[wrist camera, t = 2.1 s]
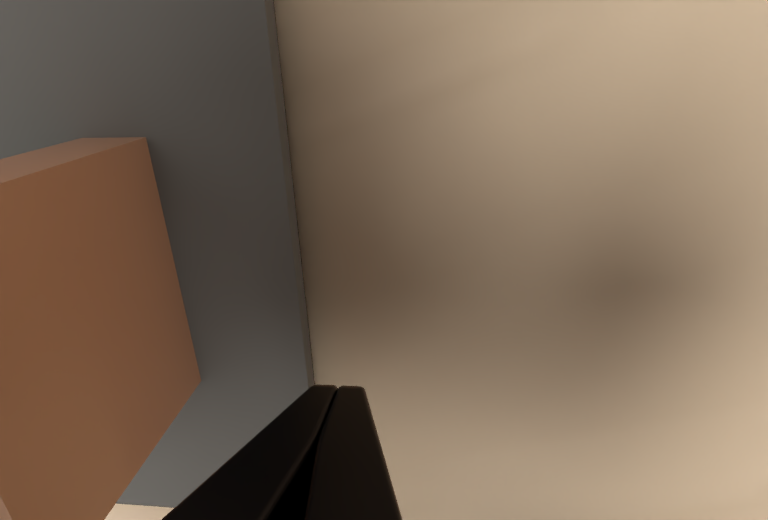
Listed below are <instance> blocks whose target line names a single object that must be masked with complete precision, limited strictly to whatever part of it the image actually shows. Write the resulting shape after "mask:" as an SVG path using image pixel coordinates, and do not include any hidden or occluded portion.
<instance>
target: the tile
mask: <svg viewBox="0 0 768 520" xmlns="http://www.w3.org/2000/svg"><path fill="white" fill-rule="evenodd" d="M200 382H201V378H200V373H199V369H198V365H197V360H196V356H195V351H194V347H193V343H192V338H191V334H190V329H189V325H188V320H187V316H186V312H185V307H184V303H183V298H182V294H181V290H180V285H179V281H178V276H177V272H176V268H175V263H174V259H173V254H172V250H171V246H170V241H169V237H168V232H167V228H166V224H165V219H164V215H163V210H162V206H161V202H160V197H159V193H158V188H157V184H156V180H155V175H154V171H153V166H152V162H151V158H150V153H149V149H148V144H147V140H146V137H118V138H79V139H76V140H72V141H68V142H64V143H60V144H56V145H53V146H49V147H45V148H41V149H37V150H34V151H30V152H26V153H22V154H18V155H15V156H11V157H7V158H3V159H0V520H104V519H105V518H106V516H107V515H108V513H109V512H110V511H111V509H112V508H113V506H114V505H115V503H116V502H117V501H118V499H119V498H120V496H121V495H122V493H123V492H124V491H125V489H126V488H127V486H128V485H129V483H130V482H131V481H132V479H133V478H134V476H135V475H136V473H137V472H138V471H139V469H140V468H141V466H142V465H143V463H144V462H145V461H146V459H147V458H148V456H149V455H150V453H151V452H152V450H153V449H154V448H155V446H156V445H157V443H158V442H159V440H160V439H161V438H162V436H163V435H164V433H165V432H166V430H167V429H168V428H169V426H170V425H171V423H172V422H173V420H174V419H175V418H176V416H177V415H178V413H179V412H180V410H181V409H182V408H183V406H184V405H185V403H186V402H187V400H188V399H189V398H190V396H191V395H192V393H193V392H194V390H195V389H196V388H197V386H198V385H199V383H200Z"/></svg>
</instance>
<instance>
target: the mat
mask: <svg viewBox="0 0 768 520" xmlns="http://www.w3.org/2000/svg"><path fill="white" fill-rule="evenodd" d="M118 137H146V140H147V144H148V149H149V153H150V158H151V162H152V166H153V171H154V175H155V180H156V184H157V188H158V193H159V197H160V202H161V206H162V210H163V215H164V219H165V224H166V228H167V232H168V237H169V241H170V246H171V250H172V254H173V259H174V263H175V268H176V272H177V276H178V281H179V285H180V290H181V294H182V298H183V303H184V307H185V312H186V316H187V320H188V325H189V329H190V334H191V338H192V343H193V347H194V351H195V356H196V360H197V365H198V369H199V373H200V378H201V382H200V383H199V385H198V386H197V388H196V389H195V390H194V392H193V393H192V395H191V396H190V398H189V399H188V400H187V402H186V403H185V405H184V406H183V408H182V409H181V410H180V412H179V413H178V415H177V416H176V418H175V419H174V420H173V422H172V423H171V425H170V426H169V428H168V429H167V430H166V432H165V433H164V435H163V436H162V438H161V439H160V440H159V442H158V443H157V445H156V446H155V448H154V449H153V450H152V452H151V453H150V455H149V456H148V458H147V459H146V461H145V462H144V463H143V465H142V466H141V468H140V469H139V471H138V472H137V473H136V475H135V476H134V478H133V479H132V481H131V482H130V483H129V485H128V486H127V488H126V489H125V491H124V492H123V493H122V495H121V496H120V498H119V499H118V501H117V502H116V503H117V504H131V505H145V506H159V507H173V508H175V507H176V506H177V505H178V504H180V503H181V502H182V501H183V500H184V499H185V498H186V497H187V496H189V495H190V494H191V493H192V492H193V491H194V490H195V489H196V488H198V487H199V486H200V485H201V484H202V483H203V482H204V481H205V480H206V479H208V478H209V477H210V476H211V475H212V474H213V473H214V472H215V471H217V470H218V469H219V468H220V467H221V466H222V465H223V464H224V463H226V462H227V461H228V460H229V459H230V458H231V457H232V456H233V455H234V454H236V453H237V452H238V451H239V450H240V449H241V448H242V447H243V446H245V445H246V444H247V443H248V442H249V441H250V440H251V439H252V438H254V437H255V436H256V435H257V434H258V433H259V432H260V431H261V430H263V429H264V428H265V427H266V426H267V425H268V424H269V423H270V422H271V421H273V420H274V419H275V418H276V417H277V416H278V415H279V414H280V413H282V412H283V411H284V410H285V409H286V408H287V407H288V406H289V405H291V404H292V403H293V402H294V401H295V400H296V399H297V398H298V397H299V396H301V395H302V394H303V393H304V392H305V391H306V390H307V389H308V388H310V387H311V386H313V385H314V375H313V366H312V357H311V347H310V338H309V329H308V319H307V310H306V301H305V291H304V282H303V273H302V263H301V254H300V245H299V235H298V226H297V217H296V207H295V198H294V189H293V179H292V170H291V161H290V151H289V142H288V133H287V123H286V114H285V105H284V95H283V86H282V77H281V67H280V58H279V49H278V39H277V30H276V20H275V11H274V2H273V0H0V159H3V158H7V157H11V156H15V155H18V154H22V153H26V152H30V151H34V150H37V149H41V148H45V147H49V146H53V145H56V144H60V143H64V142H68V141H72V140H76V139H79V138H118Z"/></svg>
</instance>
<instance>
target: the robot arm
mask: <svg viewBox="0 0 768 520" xmlns="http://www.w3.org/2000/svg"><path fill="white" fill-rule="evenodd" d="M162 520H402V517H401V514H400V510H399V507H398V503H397V500H396V496H395V493H394V489H393V486H392V482H391V479H390V475H389V472H388V469H387V465H386V462H385V458H384V455H383V451H382V448H381V444H380V441H379V437H378V434H377V430H376V427H375V423H374V420H373V416H372V413H371V410H370V406H369V403H368V399H367V396H366V392H365V389H364V388H363V387H361V386H341V387H339V388H337V387H336V386H335V385H313V386H311V387H310V388H308V389H307V390H306V391H305V392H304V393H303V394H302V395H301V396H299V397H298V398H297V399H296V400H295V401H294V402H293V403H292V404H291V405H289V406H288V407H287V408H286V409H285V410H284V411H283V412H282V413H280V414H279V415H278V416H277V417H276V418H275V419H274V420H273V421H271V422H270V423H269V424H268V425H267V426H266V427H265V428H264V429H263V430H261V431H260V432H259V433H258V434H257V435H256V436H255V437H254V438H252V439H251V440H250V441H249V442H248V443H247V444H246V445H245V446H243V447H242V448H241V449H240V450H239V451H238V452H237V453H236V454H234V455H233V456H232V457H231V458H230V459H229V460H228V461H227V462H226V463H224V464H223V465H222V466H221V467H220V468H219V469H218V470H217V471H215V472H214V473H213V474H212V475H211V476H210V477H209V478H208V479H206V480H205V481H204V482H203V483H202V484H201V485H200V486H199V487H198V488H196V489H195V490H194V491H193V492H192V493H191V494H190V495H189V496H187V497H186V498H185V499H184V500H183V501H182V502H181V503H180V504H178V505H177V506H176V507H175V508H174V509H173V510H172V511H171V512H170V513H168V514H167V515H166V516H165V517H164V518H163V519H162Z"/></svg>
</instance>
